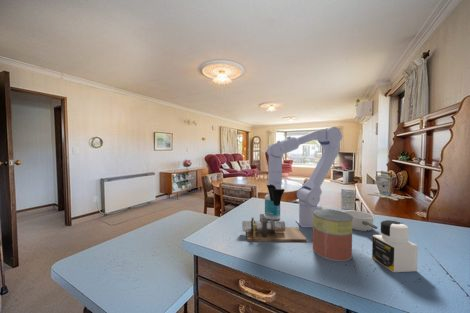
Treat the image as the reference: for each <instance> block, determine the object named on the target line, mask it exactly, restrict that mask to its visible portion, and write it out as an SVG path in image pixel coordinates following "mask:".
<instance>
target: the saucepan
mask: <svg viewBox="0 0 470 313" xmlns="http://www.w3.org/2000/svg"><path fill="white" fill-rule="evenodd" d="M342 212H345V213H348V214H350V215H351V216H352V217H353V219H352V230H355V231H360V232H361V231H362V232H368V231H372V230H373V229H374V230H378V226H376V225H375V224H374V219H375V215H373V214H372V213H369V212H366V211H365V212H364V211H361V210H353V209H351V210H349V209H347V210H343V211H342ZM367 230H368V231H367Z"/></svg>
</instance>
